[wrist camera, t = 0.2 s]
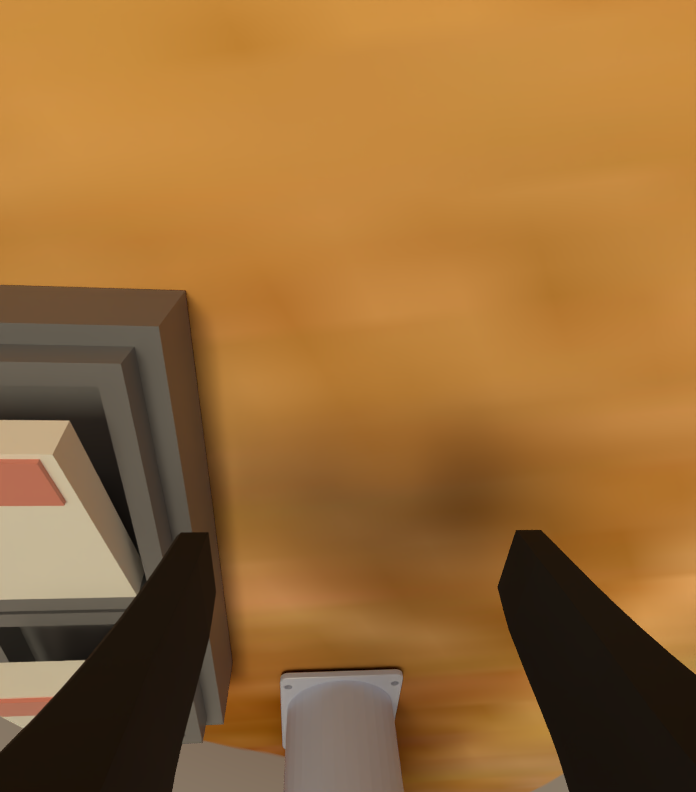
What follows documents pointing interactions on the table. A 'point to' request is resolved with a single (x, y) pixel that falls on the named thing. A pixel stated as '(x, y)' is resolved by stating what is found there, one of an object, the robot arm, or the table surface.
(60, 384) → the switch box
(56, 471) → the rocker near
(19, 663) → the rocker far
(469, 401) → the table surface
